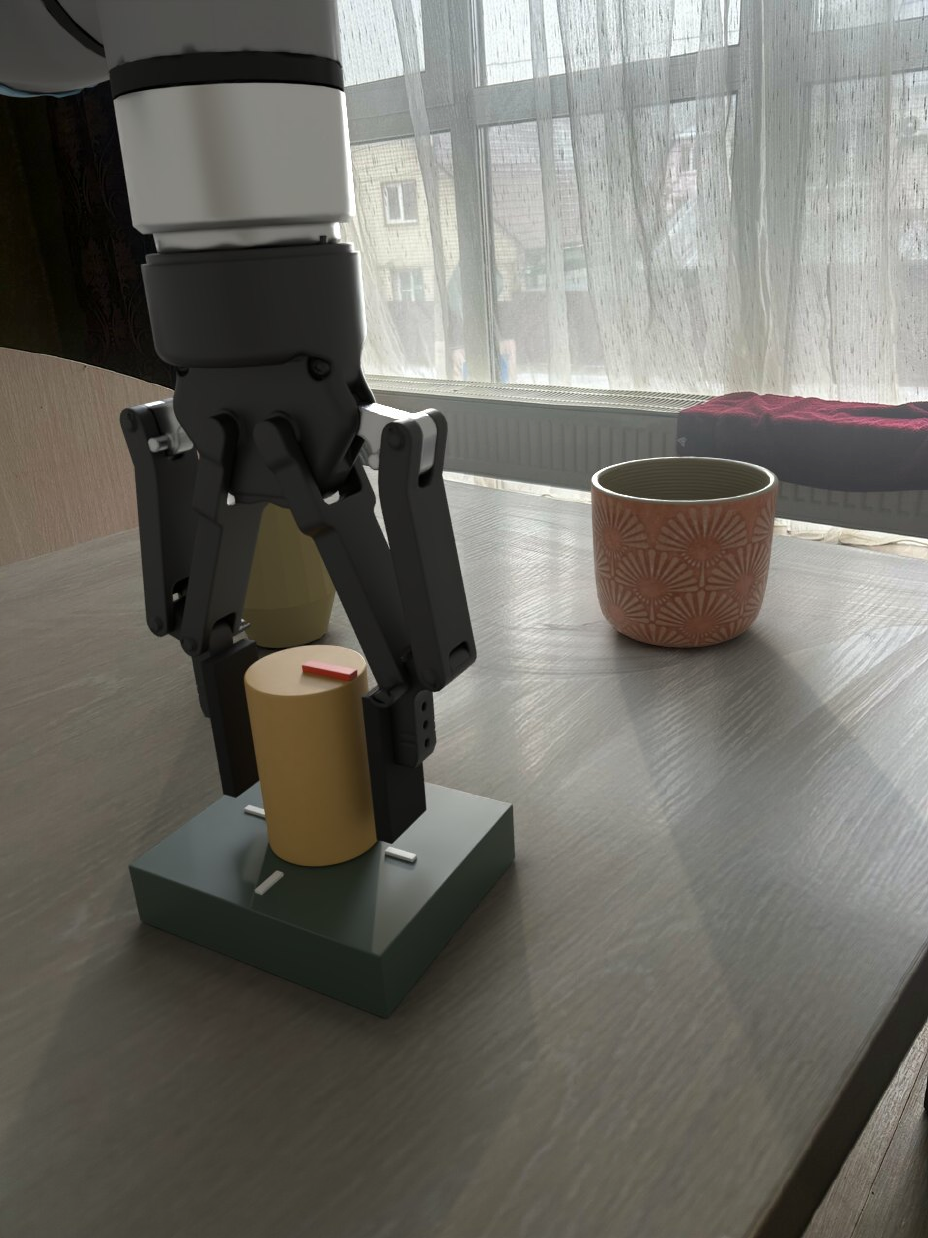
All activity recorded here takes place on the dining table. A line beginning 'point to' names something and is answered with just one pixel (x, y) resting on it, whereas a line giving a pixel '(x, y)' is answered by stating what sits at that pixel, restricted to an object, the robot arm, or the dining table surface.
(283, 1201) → the dining table surface
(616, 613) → the planter
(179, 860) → the panel
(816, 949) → the dining table surface
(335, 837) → the dial
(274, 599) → the squeeze bottle
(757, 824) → the dining table surface
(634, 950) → the dining table surface
